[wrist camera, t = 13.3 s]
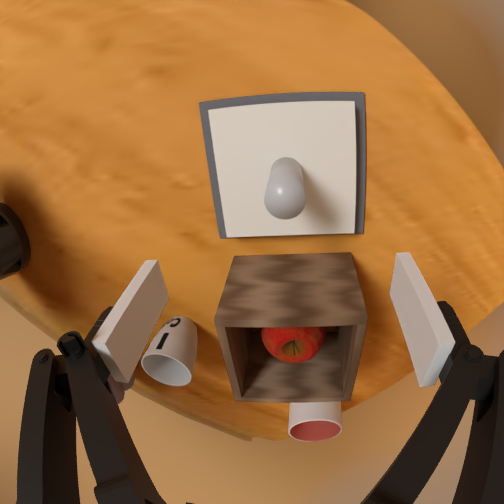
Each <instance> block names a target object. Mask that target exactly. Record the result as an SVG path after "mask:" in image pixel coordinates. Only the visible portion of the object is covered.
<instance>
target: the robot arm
mask: <svg viewBox="0 0 504 504" xmlns="http://www.w3.org/2000/svg"><path fill="white" fill-rule="evenodd" d="M29 260H30V246H29V241H28V238H27V235H26V232H25V230H24V228H23V226H22V224H21V222H20V221H19V219H18V218H17V216H16V215H15V214H14V212H13V211H12V210H11V209H10V208H8V207H7V206H6V205H4V204H2V203H0V280H2V279H4V278H6V277H9V276H11V275H14V274H16V273H19V272H20V271H21V270H22V269H23V268H24V267H25V266H26V265H27V264H28V262H29ZM389 294H390V297H391V300H392V303H393V305H394V308H395V311H396V314H397V317H398V319H399V322H400V325H401V328H402V331H403V334H404V337H405V341H406V344H407V347H408V350H409V353H410V356H411V360H412V363H413V367H414V370H415V373H416V377H417V380H418V384H419V387H425V386H431V385H435V383H436V381H437V379H438V377H439V378H440V381H441V386H440V387H439V389H438V391H437V392H436V394H435V396H434V398H433V400H432V402H431V404H430V406H429V407H428V409H427V411H426V412H425V414H424V416H423V418H422V419H421V421H420V422H419V424H418V426H417V427H416V429H415V431H414V432H413V434H412V435H411V437H410V438H409V440H408V441H407V443H406V445H405V446H404V447H403V449H402V450H401V452H400V453H399V455H398V456H397V458H396V459H395V460H394V462H393V463H392V464H391V466H390V467H389V469H388V470H387V471H386V473H385V474H384V475H383V477H382V478H381V479H380V481H379V482H378V483H377V484H376V486H375V487H374V488H373V489H372V490H371V492H370V493H369V494H368V495H367V496H366V498H365V499H364V500H363V501H362V502H361V503H360V504H413V503H414V501H415V500H416V498H417V497H418V495H419V494H420V492H421V491H422V489H423V488H424V486H425V485H426V483H427V482H428V480H429V478H430V477H431V475H432V473H433V472H434V470H435V468H436V467H437V465H438V463H439V462H440V460H441V458H442V456H443V454H444V453H445V451H446V449H447V447H448V445H449V443H450V441H451V439H452V437H453V436H454V434H455V431H456V429H457V427H458V425H459V423H460V421H461V419H462V417H463V414H464V412H465V410H466V408H467V405H468V403H469V401H470V399H472V400H475V407H474V414H473V420H472V426H471V432H470V437H469V442H468V447H467V451H466V456H465V460H464V464H463V468H462V472H461V476H460V479H459V483H458V486H457V489H456V493H455V496H454V499H453V502H452V504H504V350H503V351H502V352H501V353H500V355H499V357H496V356H488V355H484V354H483V352H482V351H481V349H480V348H478V347H477V346H475V345H471V344H470V341H469V339H468V337H467V335H466V333H465V331H464V329H463V327H462V325H461V323H460V321H459V319H458V317H456V313H455V311H454V310H453V308H452V307H451V306H450V305H449V304H448V303H447V302H446V301H439V302H436V300H435V298H434V297H433V295H432V293H431V291H430V289H429V287H428V285H427V283H426V281H425V280H424V278H423V276H422V274H421V272H420V270H419V269H418V267H417V265H416V263H415V262H414V260H413V258H412V256H411V255H410V253H409V252H403V253H396V258H395V265H394V271H393V277H392V282H391V288H390V293H389ZM168 299H169V296H168V293H167V289H166V286H165V283H164V280H163V276H162V273H161V270H160V266H159V263H158V260H146V261H145V262H144V264H143V265H142V266H141V268H140V269H139V271H138V272H137V273H136V275H135V276H134V278H133V279H132V281H131V282H130V284H129V285H128V286H127V288H126V289H125V291H124V292H123V294H122V295H121V297H120V298H119V300H118V301H117V303H116V304H115V306H114V307H109V308H107V309H106V310H105V311H104V312H102V314H101V315H100V317H99V318H98V321H96V323H95V324H94V326H93V327H92V329H91V330H90V332H89V333H88V335H87V337H86V338H85V340H84V341H83V339H82V337H81V335H80V334H79V333H78V332H76V331H71V332H67V333H66V334H64V335H63V336H62V337H60V338H59V340H58V342H57V347H58V349H59V350H60V352H61V353H62V355H58V356H57V355H56V356H55V355H54V353H53V352H52V350H50V349H43V350H40V351H39V352H38V353H37V354H36V355H35V356H34V358H33V361H32V365H31V370H30V375H29V380H28V385H27V390H26V396H25V402H24V408H23V415H22V423H21V431H20V441H19V453H18V473H17V502H16V504H80V497H79V487H78V474H77V455H76V417H77V420H78V425H79V428H80V432H81V436H82V439H83V443H84V446H85V449H86V453H87V456H88V459H89V462H90V465H91V468H92V471H93V474H94V477H95V479H96V483H97V486H96V487H94V493H95V496H96V499H97V502H98V504H166V502H165V501H164V500H163V499H162V498H161V496H160V495H159V493H158V492H157V490H156V488H155V486H154V484H153V483H152V480H151V479H150V477H149V475H148V473H147V471H146V469H145V467H144V465H143V462H142V460H141V458H140V456H139V454H138V452H137V450H136V447H135V445H134V443H133V441H132V439H131V436H130V434H129V432H128V429H127V427H126V424H125V422H124V419H123V417H122V414H121V412H120V410H119V406H118V404H117V401H116V398H115V396H114V393H113V390H112V387H111V384H110V382H109V381H108V377H109V375H110V374H111V375H112V377H113V378H114V380H115V381H118V382H124V383H129V381H130V378H131V376H132V374H133V372H134V370H135V367H136V365H137V363H138V361H139V359H140V357H141V355H142V353H143V350H144V348H145V346H146V344H147V342H148V340H149V338H150V336H151V334H152V332H153V330H154V328H155V326H156V324H157V322H158V319H159V317H160V315H161V313H162V311H163V309H164V307H165V305H166V303H167V301H168ZM186 504H192V503H186Z"/></svg>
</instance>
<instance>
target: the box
mask: <svg viewBox="0 0 504 504" xmlns="http://www.w3.org/2000/svg"><path fill="white" fill-rule="evenodd" d="M367 321H368V315H367V311H366V307H365V303H364V299H363V295H362V291H361V288H360V284H359V280H358V277H357V273H356V269H355V266H354V262H353V259H352V256H351V252H349V253H317V254H285V255H251V256H234V258H233V261H232V264H231V268H230V271H229V274H228V277H227V280H226V283H225V287H224V290H223V293H222V296H221V299H220V302H219V306H218V309H217V312H216V315H215V318H214V322H215V326H216V330H217V334H218V338H219V342H220V346H221V349H222V353H223V357H224V361H225V365H226V368H227V372H228V376H229V380H230V383H231V387H232V390H233V394H234V398H235V401H244V402H273V403H307V402H336V401H350V399H351V395H352V391H353V387H354V383H355V379H356V375H357V370H358V366H359V361H360V357H361V352H362V347H363V342H364V337H365V332H366V326H367ZM319 326H338V329H337V332H325V339H324V341H323V344H322V346H321V349H320V350H319V351H318V353H317V354H316V355H315V356H314V357H313V358H312V359H310V360H307V361H304V362H294V363H290V362H282V361H281V360H279V359H277V358H276V357H274V356H273V355H271V354H270V352H269V351H268V350H267V349H266V347H265V345H264V343H263V341H262V337H261V333H252V327H319Z"/></svg>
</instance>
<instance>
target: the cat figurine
mask: <svg viewBox="0 0 504 504" xmlns="http://www.w3.org/2000/svg"><path fill="white" fill-rule="evenodd" d="M108 381H109V382H110V384H111V387H112V390H113V393H114V396H115V398H116V401H117V404H119V403H120V402H121V401H122V400H123V399H124V391H126V390H128V389H130V388H131V387H132V386H133V383H134V374H132V376H131V378H130V381H129V383H124V382H118V381H115V380H114V378H113V377H112V375H111V374H110V375H109V377H108Z"/></svg>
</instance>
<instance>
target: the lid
mask: <svg viewBox="0 0 504 504" xmlns="http://www.w3.org/2000/svg"><path fill="white" fill-rule="evenodd" d="M208 113H209V121H210V128H211V135H212V142H213V149H214V156H215V163H216V170H217V177H218V184H219V190H220V197H221V203H222V210H223V216H224V223H225V229H226V235H227V237H252V236H279V235H309V234H343V233H354V229H355V205H356V124H355V101H300V102H281V103H266V104H254V105H244V106H235V107H226V108H218V109H211V110H208Z"/></svg>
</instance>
